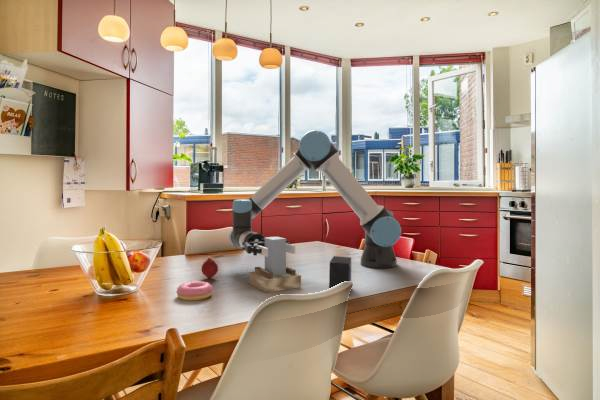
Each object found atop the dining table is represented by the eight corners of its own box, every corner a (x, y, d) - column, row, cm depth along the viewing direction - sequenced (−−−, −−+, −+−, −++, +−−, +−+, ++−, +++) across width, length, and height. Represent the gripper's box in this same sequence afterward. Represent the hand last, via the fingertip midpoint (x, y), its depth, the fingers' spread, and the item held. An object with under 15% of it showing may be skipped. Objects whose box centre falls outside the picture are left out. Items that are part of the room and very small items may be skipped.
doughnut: (183, 291, 130) (182, 279, 130) (216, 292, 129) (216, 279, 129) (171, 302, 119) (171, 288, 119) (208, 302, 119) (207, 288, 118)
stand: (282, 278, 146) (282, 263, 146) (300, 287, 135) (301, 270, 135) (249, 283, 139) (249, 267, 139) (266, 292, 128) (266, 274, 128)
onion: (221, 277, 148) (221, 256, 147) (211, 281, 143) (211, 258, 142) (208, 276, 150) (208, 254, 150) (198, 279, 145) (198, 257, 145)
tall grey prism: (277, 270, 140) (277, 236, 140) (285, 273, 135) (285, 238, 135) (264, 272, 138) (264, 237, 137) (272, 275, 133) (272, 239, 132)
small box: (349, 296, 124) (349, 262, 124) (328, 295, 126) (328, 262, 125) (351, 287, 135) (352, 256, 134) (332, 286, 136) (332, 255, 136)
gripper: (278, 249, 158) (309, 258, 139) (224, 254, 146) (250, 265, 127) (278, 230, 157) (309, 237, 138) (224, 234, 146) (250, 242, 127)
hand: (281, 251), depth 133 cm, fingers open, 9 cm apart
